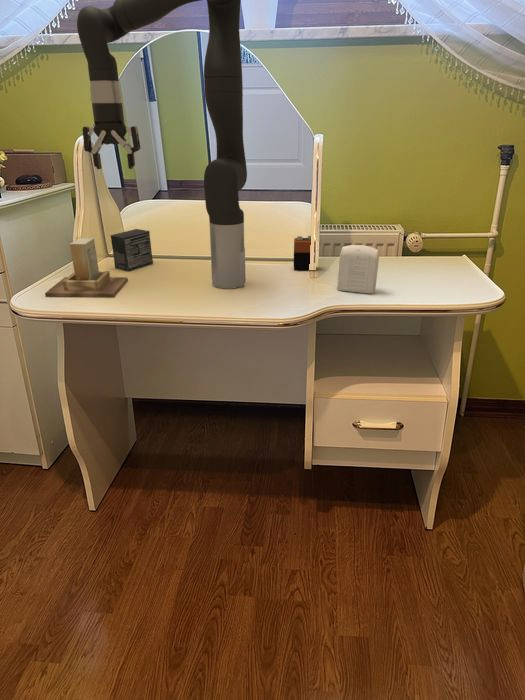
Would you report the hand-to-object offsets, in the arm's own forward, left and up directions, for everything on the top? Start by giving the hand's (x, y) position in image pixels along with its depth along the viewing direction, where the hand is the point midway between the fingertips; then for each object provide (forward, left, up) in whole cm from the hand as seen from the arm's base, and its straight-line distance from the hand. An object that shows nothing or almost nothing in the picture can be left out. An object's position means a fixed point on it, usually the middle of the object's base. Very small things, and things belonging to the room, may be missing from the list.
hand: (115, 168), depth 138 cm
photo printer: (-65, +11, -30) cm, 72 cm away
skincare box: (+8, +11, -29) cm, 32 cm away
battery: (-52, -9, -30) cm, 61 cm away
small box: (+1, -11, -30) cm, 32 cm away
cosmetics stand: (+8, +11, -30) cm, 33 cm away
